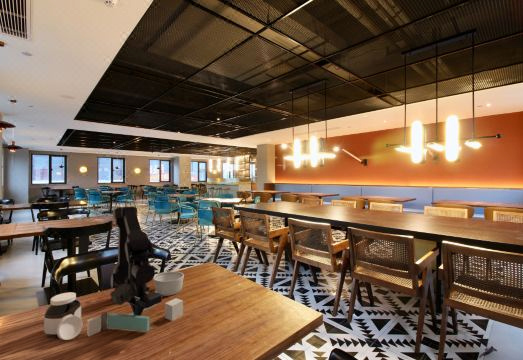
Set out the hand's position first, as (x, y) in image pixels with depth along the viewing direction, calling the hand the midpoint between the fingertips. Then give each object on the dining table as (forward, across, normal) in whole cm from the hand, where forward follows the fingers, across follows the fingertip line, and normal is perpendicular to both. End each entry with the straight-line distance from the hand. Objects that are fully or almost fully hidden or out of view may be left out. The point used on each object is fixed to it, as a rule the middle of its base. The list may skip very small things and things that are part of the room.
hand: (137, 318), depth 90 cm
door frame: (+3, -9, +2) cm, 10 cm away
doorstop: (+3, +5, +12) cm, 13 cm away
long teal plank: (+2, -1, -3) cm, 4 cm away
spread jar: (+3, -17, -14) cm, 23 cm away
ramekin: (+4, -15, +26) cm, 30 cm away
